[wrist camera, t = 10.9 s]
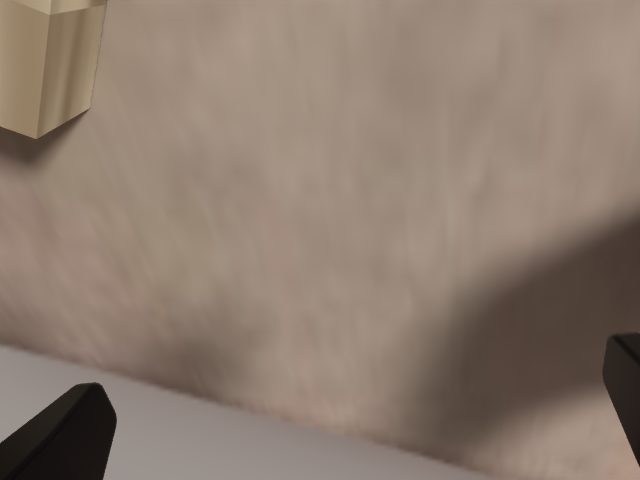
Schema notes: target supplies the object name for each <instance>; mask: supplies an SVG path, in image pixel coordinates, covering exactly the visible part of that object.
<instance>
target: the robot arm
mask: <svg viewBox="0 0 640 480" xmlns="http://www.w3.org/2000/svg"><path fill="white" fill-rule="evenodd" d="M603 380H604V383H605V386H606V388H607V391H608V393H609V396H610V398H611V400H612V403H613V405H614V408H615V410H616V412H617V415H618V417H619V420H620V422H621V424H622V427H623V429H624V432H625V434H626V436H627V439H628V441H629V444H630V446H631V448H632V451H633V453H634V455H635V458H636V460H637V462H638V464H639V467H640V333H637V332H626V333H616V334H612V335H610V336H609V338H608V340H607V344H606V351H605V357H604V364H603ZM116 423H117V418H116V413H115V410H114V408H113V406H112V405H111V402H110V400H109V398H108V396H107V394H106V392H105V390H104V388H103V387H102V385H100V384H99V383H96V382H94V383H84V384H78V385H75V386H74V387H72V388H71V389H70V390H69V391H67V392H66V393H64V394H63V395H62V396H61V397H59V398H58V399H57V400H55V401H54V402H53V403H52V404H50V405H49V406H48V407H46V408H45V409H44V410H42V411H41V412H40V413H39V414H38V415H36V416H35V417H34V418H32V419H31V420H30V421H28V422H27V423H26V424H24V425H23V426H22V427H21V428H19V429H18V430H17V431H15V432H14V433H13V434H11V435H10V436H9V437H8V438H6V439H5V440H4V441H2V442H1V443H0V480H103V477H104V473H105V469H106V465H107V461H108V457H109V453H110V449H111V445H112V441H113V437H114V433H115V429H116Z"/></svg>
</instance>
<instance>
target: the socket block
mask: <svg viewBox="0 0 640 480" xmlns="http://www.w3.org/2000/svg"><path fill="white" fill-rule="evenodd" d="M106 2H107V0H0V126H1V127H3V128H6V129H9V130H12V131H15V132H18V133H20V134H23V135H26V136H29V137H32V138H34V139H38V138H39V137H41V136H43V135H44V134H46V133H48V132H50V131H51V130H53V129H55V128H56V127H58V126H60V125H62V124H63V123H65V122H67V121H68V120H70V119H72V118H74V117H75V116H77V115H79V114H81V113H82V112H84V111H86V110H87V109H89V108H90V104H91V98H92V91H93V85H94V79H95V72H96V66H97V60H98V53H99V47H100V41H101V34H102V28H103V21H104V15H105V9H106Z"/></svg>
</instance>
